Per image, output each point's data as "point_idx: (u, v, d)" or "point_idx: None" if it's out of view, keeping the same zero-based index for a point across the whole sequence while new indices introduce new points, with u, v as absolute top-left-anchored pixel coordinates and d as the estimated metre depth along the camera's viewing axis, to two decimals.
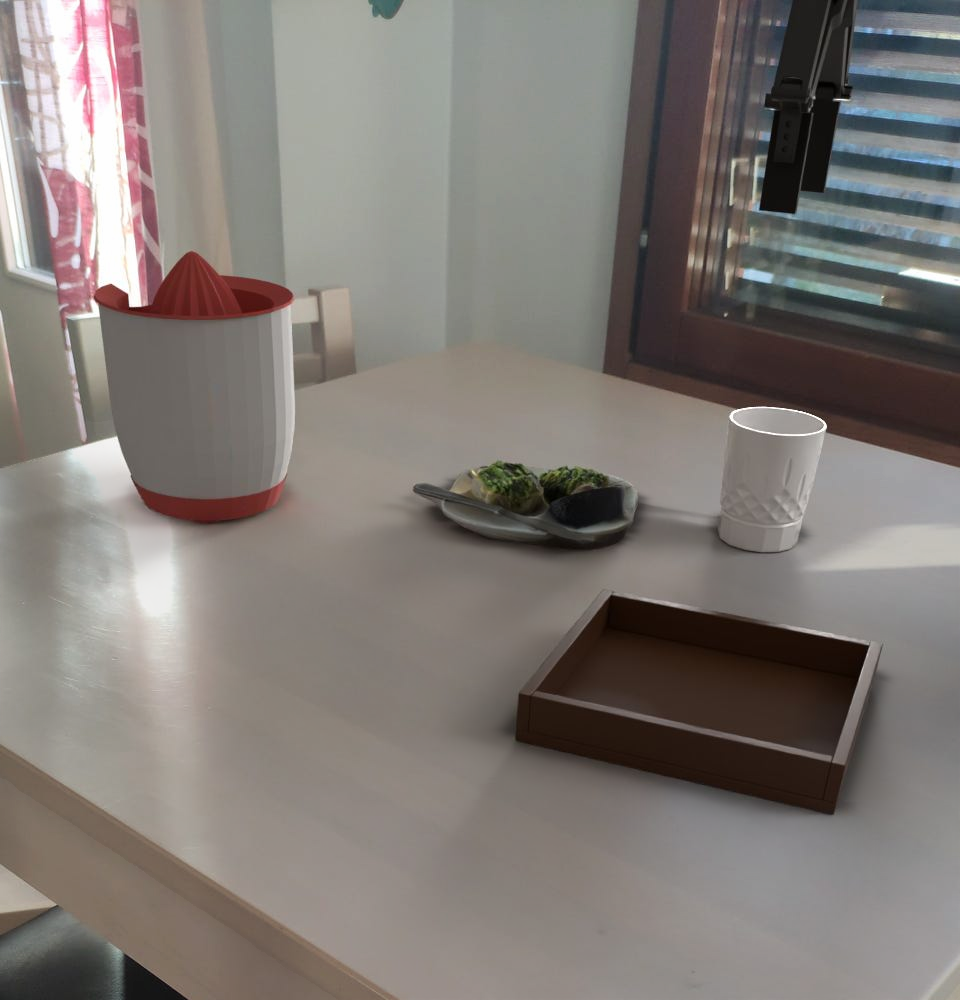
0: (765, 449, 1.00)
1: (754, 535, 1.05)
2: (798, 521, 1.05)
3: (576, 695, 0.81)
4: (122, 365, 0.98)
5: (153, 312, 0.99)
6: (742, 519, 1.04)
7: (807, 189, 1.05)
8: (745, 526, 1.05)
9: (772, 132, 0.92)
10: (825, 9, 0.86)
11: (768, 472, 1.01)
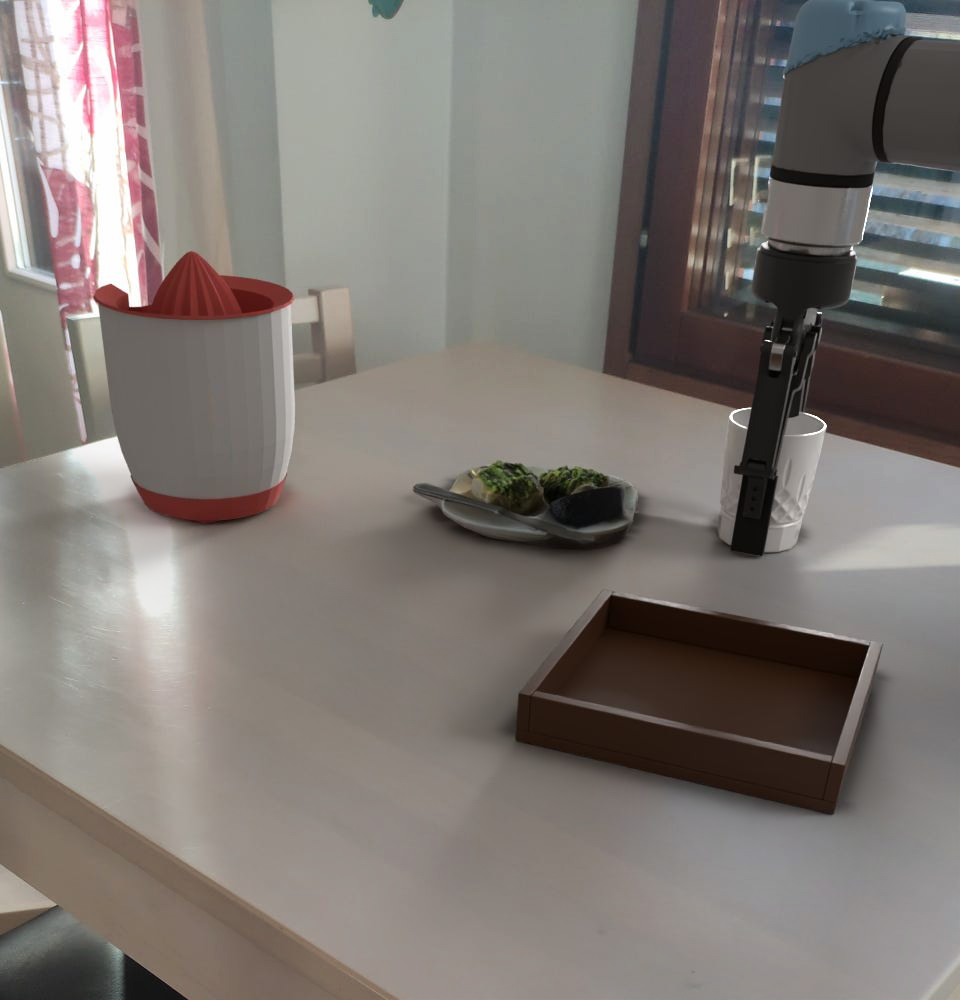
0: None
1: None
2: (798, 521, 1.05)
3: (576, 695, 0.81)
4: (122, 365, 0.98)
5: (153, 312, 0.99)
6: None
7: None
8: None
9: (741, 490, 1.02)
10: (784, 401, 0.95)
11: None
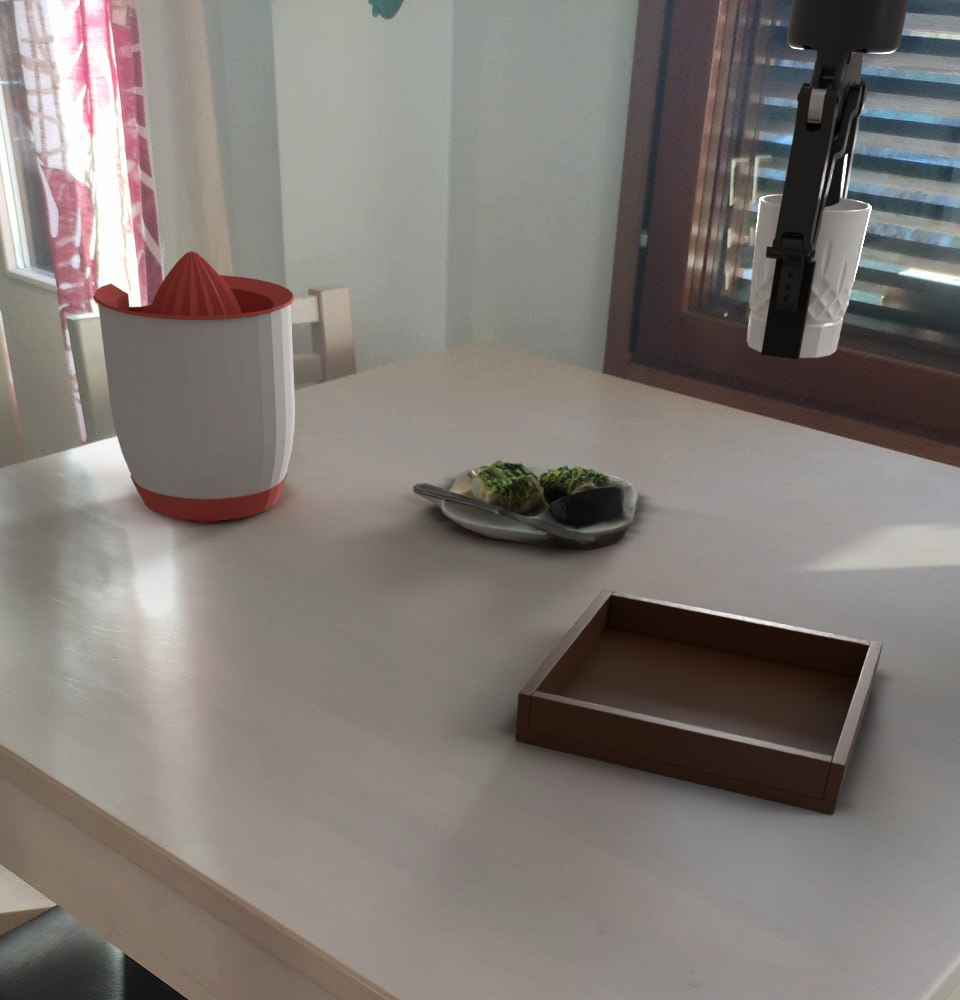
0: None
1: None
2: (838, 322, 0.93)
3: (576, 695, 0.81)
4: (122, 365, 0.98)
5: (153, 312, 0.99)
6: None
7: None
8: None
9: (774, 280, 0.90)
10: (824, 160, 0.83)
11: None
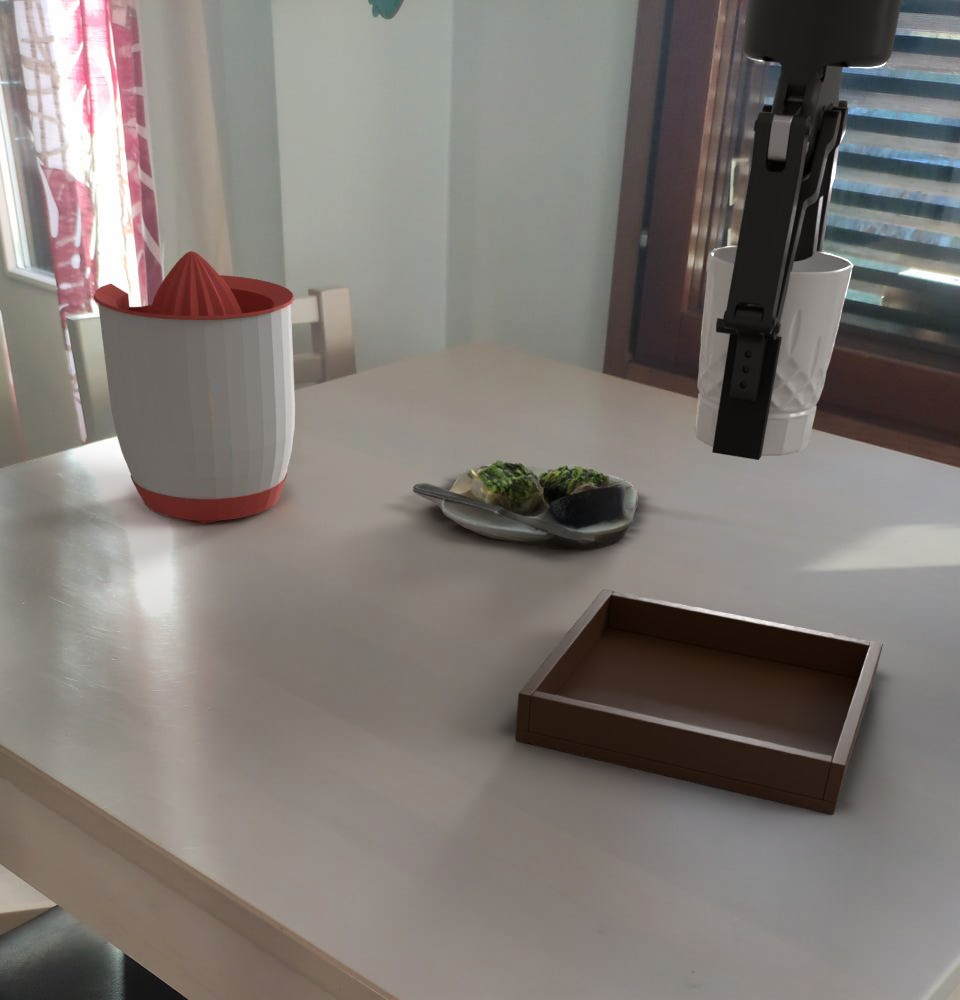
0: None
1: None
2: (810, 410, 0.73)
3: (576, 695, 0.81)
4: (122, 365, 0.98)
5: (153, 312, 0.99)
6: None
7: None
8: None
9: (728, 360, 0.69)
10: (791, 210, 0.62)
11: None
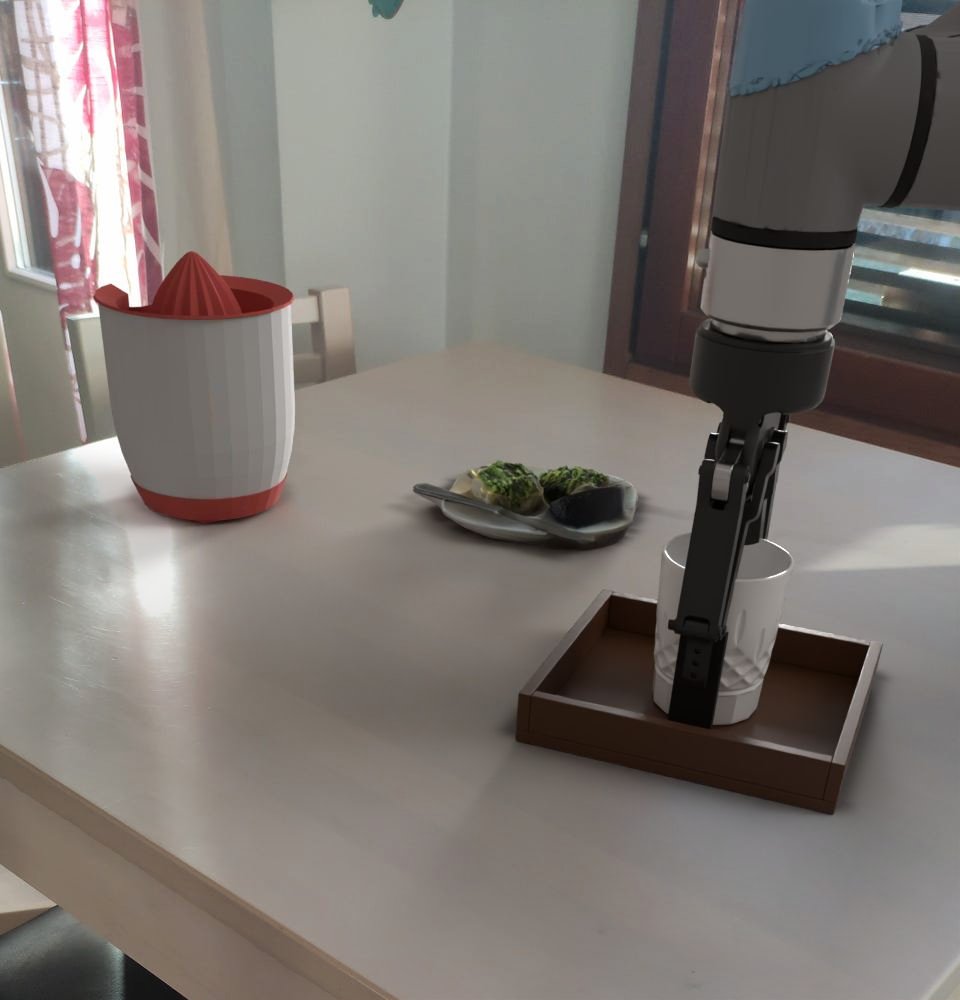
0: None
1: None
2: (757, 684, 0.79)
3: (576, 695, 0.81)
4: (122, 365, 0.98)
5: (153, 312, 0.99)
6: None
7: None
8: None
9: (679, 650, 0.75)
10: (733, 542, 0.68)
11: None
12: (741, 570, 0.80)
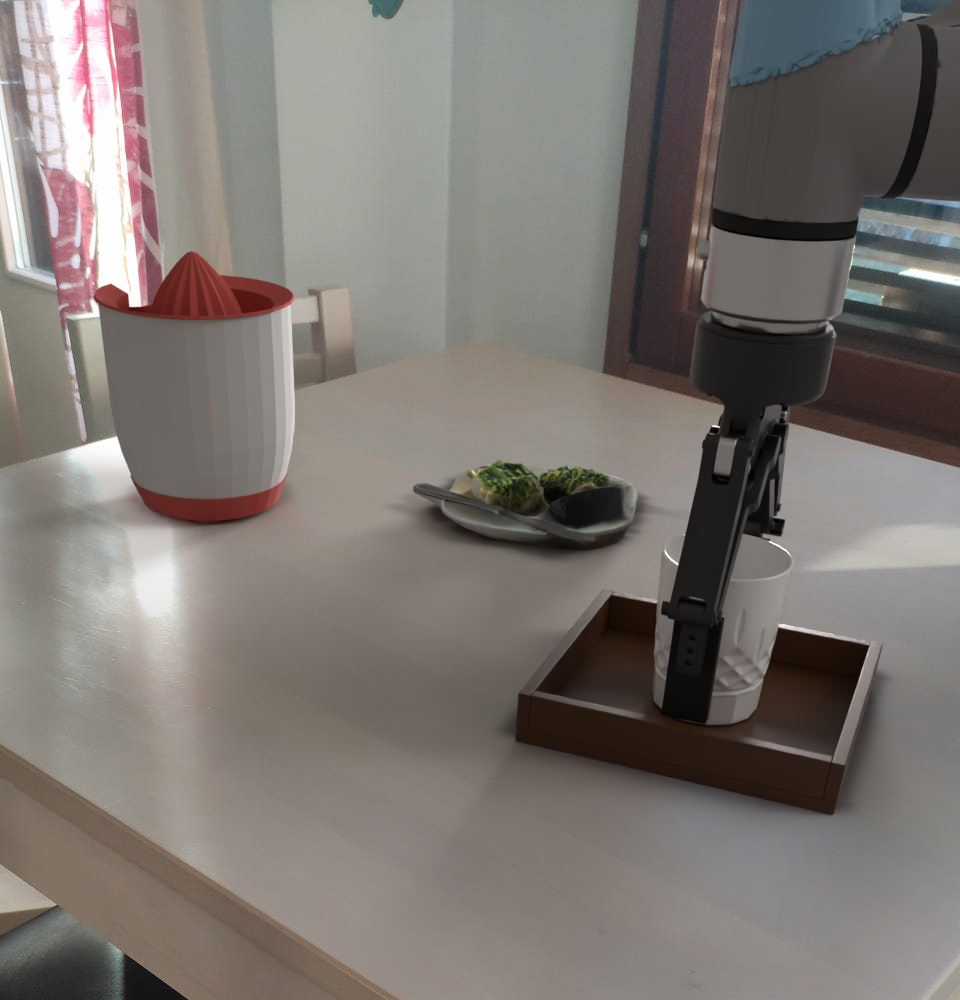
0: None
1: None
2: (757, 684, 0.79)
3: (576, 695, 0.81)
4: (122, 365, 0.98)
5: (153, 312, 0.99)
6: None
7: None
8: None
9: (673, 636, 0.72)
10: (734, 518, 0.67)
11: None
12: (741, 570, 0.80)
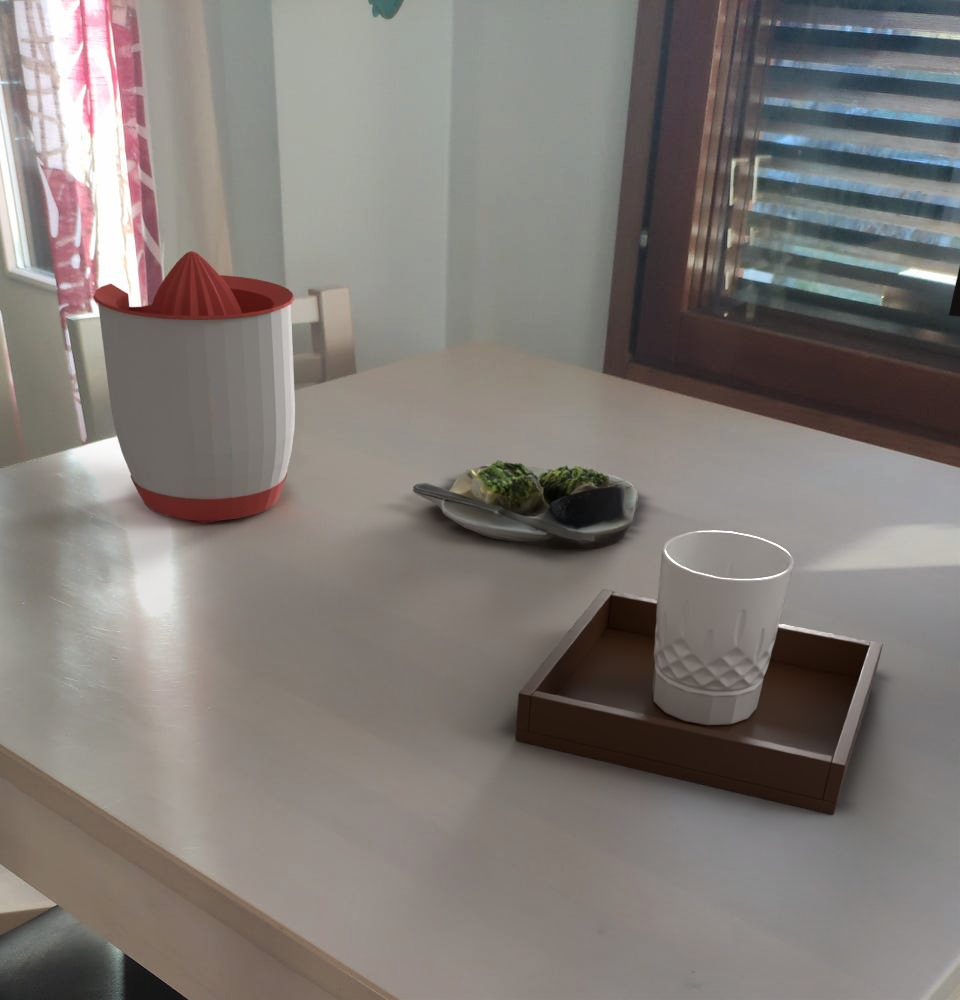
0: (709, 598, 0.74)
1: (697, 704, 0.78)
2: (757, 684, 0.79)
3: (576, 695, 0.81)
4: (122, 365, 0.98)
5: (153, 312, 0.99)
6: (681, 683, 0.78)
7: None
8: (686, 693, 0.78)
9: None
10: None
11: (715, 626, 0.74)
12: (741, 570, 0.80)
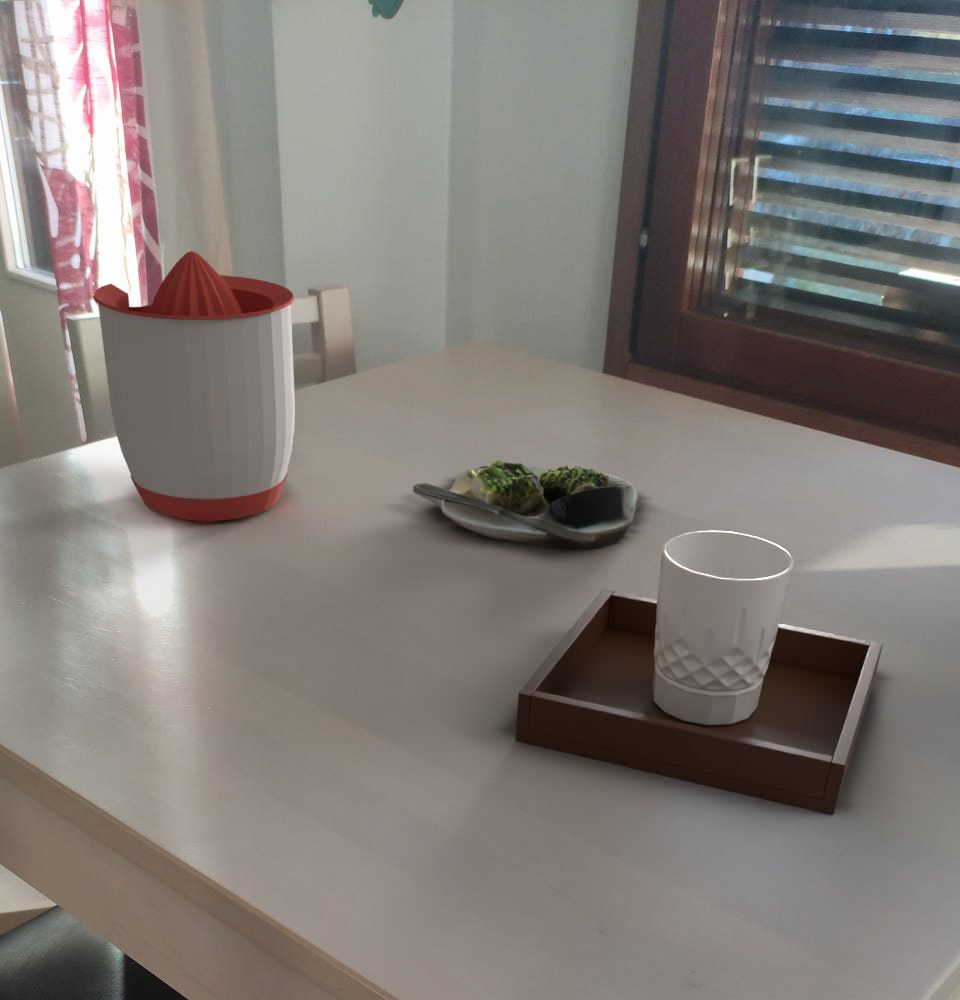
0: (709, 598, 0.74)
1: (697, 704, 0.78)
2: (757, 684, 0.79)
3: (576, 695, 0.81)
4: (122, 365, 0.98)
5: (153, 312, 0.99)
6: (681, 683, 0.78)
7: None
8: (686, 693, 0.78)
9: None
10: None
11: (715, 626, 0.74)
12: (741, 570, 0.80)
